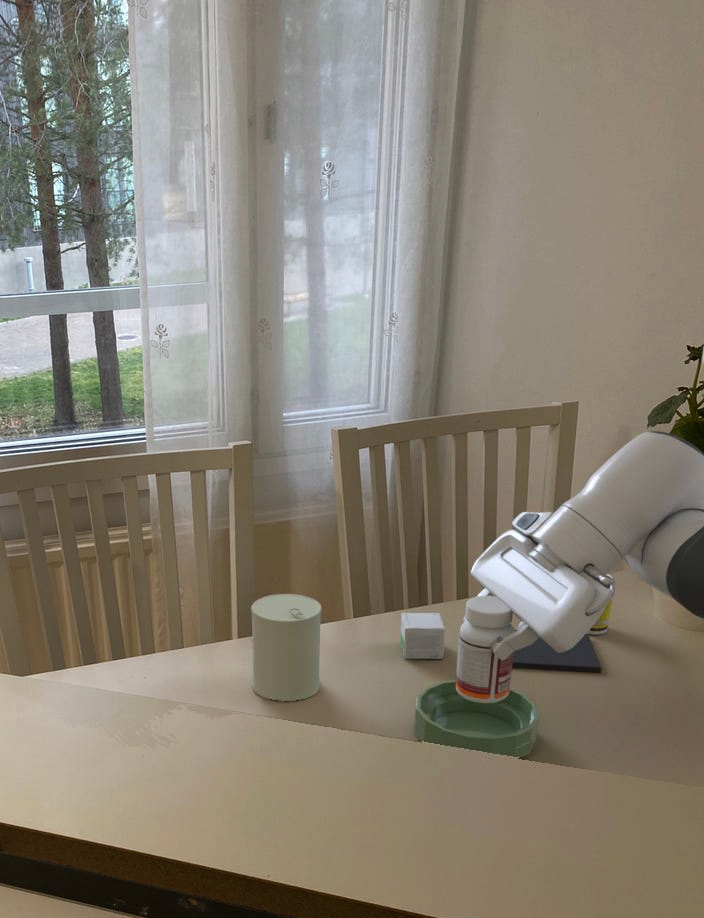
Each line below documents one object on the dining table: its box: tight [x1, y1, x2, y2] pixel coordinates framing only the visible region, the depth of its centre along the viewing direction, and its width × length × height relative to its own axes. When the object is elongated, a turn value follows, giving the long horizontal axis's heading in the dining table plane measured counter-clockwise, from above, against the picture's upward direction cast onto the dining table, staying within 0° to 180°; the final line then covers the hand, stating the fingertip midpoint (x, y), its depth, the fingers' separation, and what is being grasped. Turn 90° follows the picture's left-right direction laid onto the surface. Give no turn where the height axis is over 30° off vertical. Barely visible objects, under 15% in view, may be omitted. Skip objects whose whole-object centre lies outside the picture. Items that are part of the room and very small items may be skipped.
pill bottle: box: [455, 595, 516, 703], centre depth 105 cm, size 6×6×11 cm
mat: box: [512, 629, 603, 673], centre depth 130 cm, size 16×11×1 cm
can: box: [250, 593, 323, 702], centre depth 120 cm, size 9×9×12 cm
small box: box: [399, 612, 446, 660], centre depth 130 cm, size 6×6×5 cm
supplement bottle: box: [586, 573, 614, 636], centre depth 135 cm, size 5×5×8 cm
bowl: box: [414, 679, 540, 758], centre depth 109 cm, size 14×14×4 cm
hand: (481, 640), depth 104 cm, fingers closed on pill bottle, 6 cm apart
